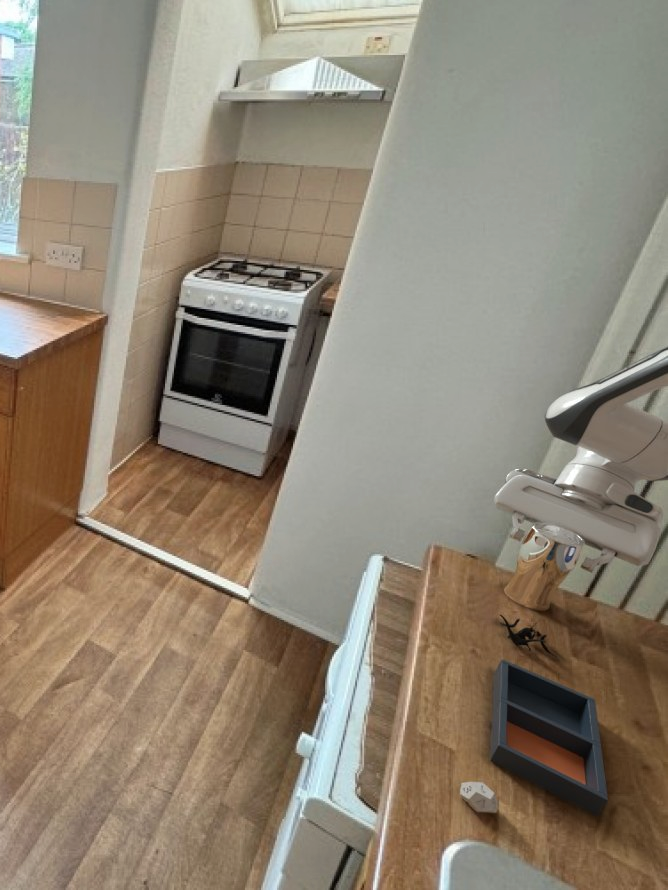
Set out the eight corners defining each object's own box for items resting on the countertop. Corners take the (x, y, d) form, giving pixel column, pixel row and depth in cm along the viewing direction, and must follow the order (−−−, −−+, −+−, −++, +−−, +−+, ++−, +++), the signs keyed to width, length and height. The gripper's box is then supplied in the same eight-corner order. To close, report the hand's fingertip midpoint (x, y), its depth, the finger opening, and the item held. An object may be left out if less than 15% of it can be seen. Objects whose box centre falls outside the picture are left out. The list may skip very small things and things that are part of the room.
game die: (492, 802, 77) (501, 787, 75) (493, 827, 74) (502, 811, 73) (456, 784, 79) (464, 769, 78) (456, 807, 76) (464, 791, 75)
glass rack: (493, 675, 94) (501, 658, 93) (584, 716, 88) (595, 699, 87) (488, 763, 81) (498, 745, 80) (595, 819, 75) (608, 800, 74)
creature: (504, 626, 105) (481, 630, 102) (520, 601, 104) (496, 604, 101) (562, 661, 99) (538, 666, 95) (579, 635, 97) (556, 640, 94)
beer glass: (557, 620, 105) (593, 551, 100) (504, 604, 109) (537, 537, 103) (544, 595, 111) (578, 529, 105) (495, 581, 114) (525, 516, 109)
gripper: (514, 458, 114) (475, 515, 113) (677, 515, 98) (634, 583, 97) (514, 471, 118) (476, 527, 117) (671, 528, 102) (629, 594, 101)
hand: (549, 553), depth 107 cm, fingers open, 8 cm apart
